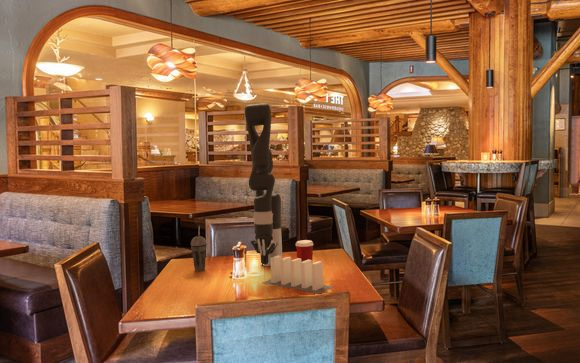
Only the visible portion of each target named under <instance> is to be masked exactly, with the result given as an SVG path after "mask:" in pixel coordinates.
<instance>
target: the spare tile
mask: <svg viewBox="0 0 580 363" xmlns="http://www.w3.org/2000/svg"><path fill="white" fill-rule="evenodd" d="M290 265H291V286H294V287H295V286H297V285H300V284H302V283H301V258H297V257H296V258H294V259H291V261H290Z"/></svg>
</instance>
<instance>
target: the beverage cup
mask: <svg viewBox="0 0 580 363" xmlns="http://www.w3.org/2000/svg"><path fill="white" fill-rule="evenodd" d="M200 227H201V226H200V225H198V235H196V236H194V237H193V238H192V239H191V241H190V248H191V253H192V260H193V261H192V262H193V268H194V271H195V272H203V271H205V270H206V257H207V256H206V255H207V245H208V243H207V241H206V239H205V237H203V236H201V235H200V230H201V228H200Z"/></svg>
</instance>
